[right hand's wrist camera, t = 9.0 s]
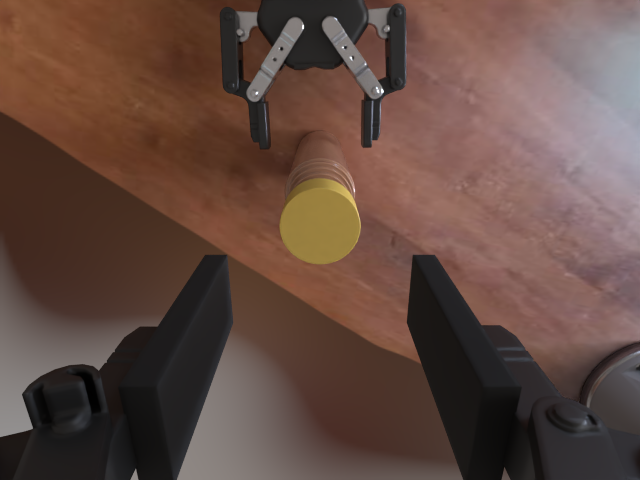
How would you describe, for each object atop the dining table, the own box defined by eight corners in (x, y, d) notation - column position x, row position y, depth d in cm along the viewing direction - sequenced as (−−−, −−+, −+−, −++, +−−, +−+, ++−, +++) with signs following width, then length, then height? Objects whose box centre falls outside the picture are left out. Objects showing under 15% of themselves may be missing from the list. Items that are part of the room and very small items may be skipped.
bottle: (351, 162, 42) (380, 240, 21) (312, 184, 43) (304, 280, 22) (328, 121, 40) (336, 163, 20) (288, 145, 41) (257, 209, 21)
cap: (369, 226, 23) (374, 240, 21) (307, 260, 24) (306, 277, 22) (333, 163, 22) (334, 172, 20) (269, 201, 23) (263, 214, 20)
